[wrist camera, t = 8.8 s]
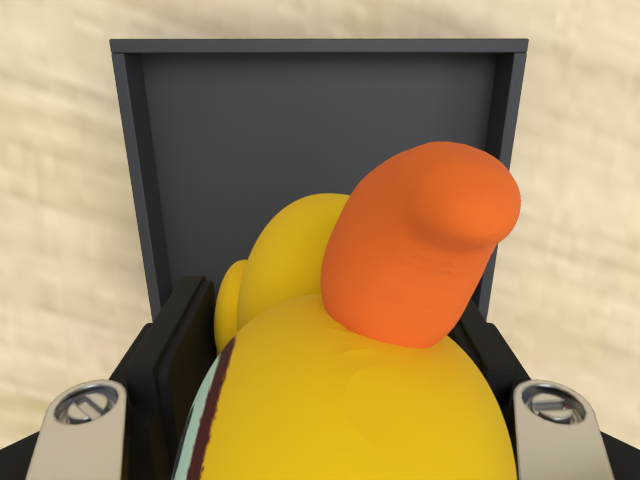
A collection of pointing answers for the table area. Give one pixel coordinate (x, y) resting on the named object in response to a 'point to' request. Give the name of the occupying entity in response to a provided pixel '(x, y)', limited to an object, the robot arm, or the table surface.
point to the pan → (290, 131)
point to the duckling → (359, 334)
